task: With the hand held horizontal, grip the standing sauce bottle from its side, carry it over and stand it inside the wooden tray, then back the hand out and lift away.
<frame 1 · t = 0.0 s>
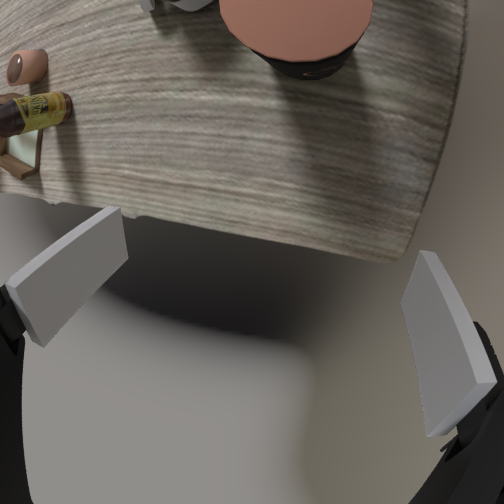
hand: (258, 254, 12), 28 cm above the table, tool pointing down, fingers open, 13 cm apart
sauce bottle: (62, 106, 39), on the table
coffee jar: (306, 42, 29), on the table
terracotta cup: (37, 65, 35), on the table
wooden tray: (23, 130, 43), on the table
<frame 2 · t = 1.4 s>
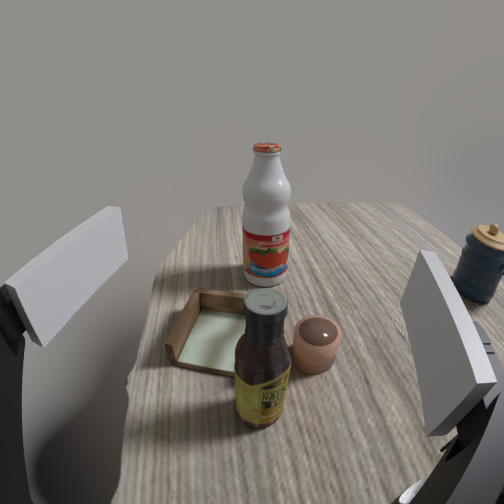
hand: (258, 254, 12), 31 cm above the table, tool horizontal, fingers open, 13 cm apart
sauce bottle: (260, 410, 36), on the table
canister: (472, 288, 57), on the table
fruit juice: (265, 275, 64), on the table
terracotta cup: (312, 357, 44), on the table
wooden tray: (227, 341, 48), on the table
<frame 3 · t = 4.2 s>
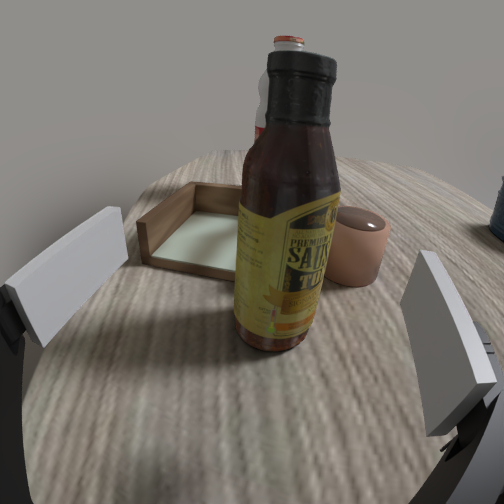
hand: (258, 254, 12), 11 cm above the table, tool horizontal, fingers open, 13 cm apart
sauce bottle: (272, 328, 24), on the table
fruit juice: (278, 195, 52), on the table
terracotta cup: (347, 268, 32), on the table
wooden tray: (226, 243, 35), on the table
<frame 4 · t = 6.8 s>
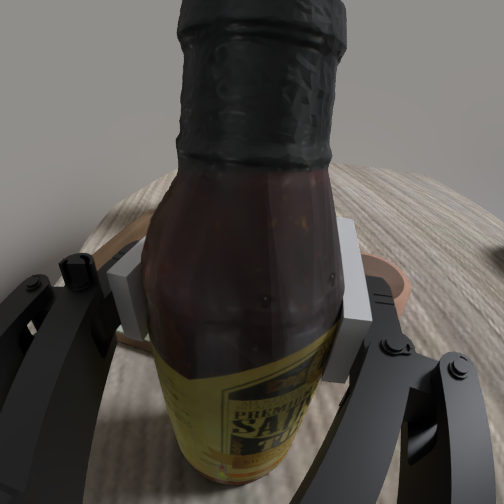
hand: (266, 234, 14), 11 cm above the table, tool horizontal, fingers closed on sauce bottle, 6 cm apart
sauce bottle: (235, 442, 15), on the table, touching gripper
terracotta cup: (347, 335, 23), on the table
wooden tray: (188, 298, 26), on the table
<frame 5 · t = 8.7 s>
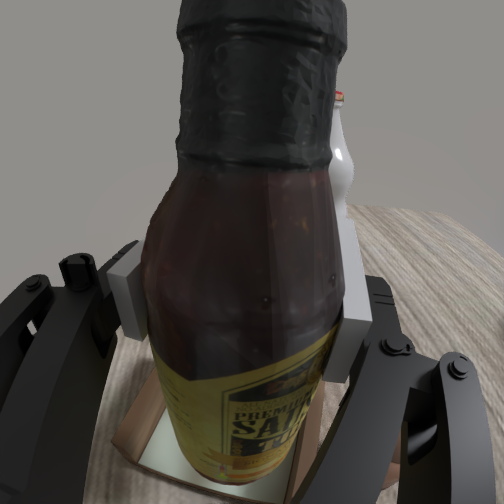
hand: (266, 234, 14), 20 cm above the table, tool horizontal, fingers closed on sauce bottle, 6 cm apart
sauce bottle: (235, 443, 15), point 9 cm above the table, touching gripper
fruit juice: (293, 305, 41), on the table
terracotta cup: (375, 459, 20), on the table
wooden tray: (230, 428, 24), on the table
when the fingers open (13 cm above the table, at t = 10.7 s): sauce bottle drops 1 cm, resting on wooden tray.
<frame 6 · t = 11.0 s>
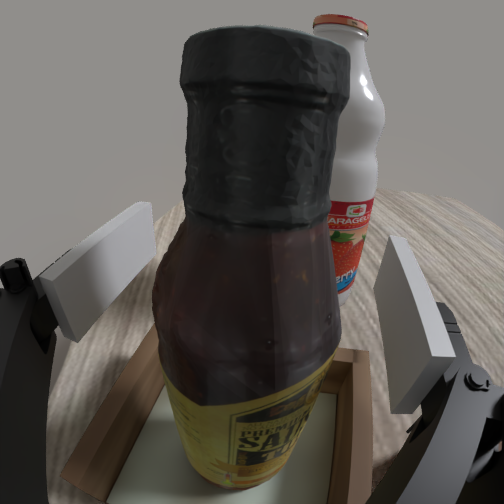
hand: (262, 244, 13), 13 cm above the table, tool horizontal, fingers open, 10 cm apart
sauce bottle: (238, 450, 15), point 1 cm above the table, touching wooden tray
fruit juice: (308, 289, 33), on the table
wooden tray: (235, 454, 16), on the table
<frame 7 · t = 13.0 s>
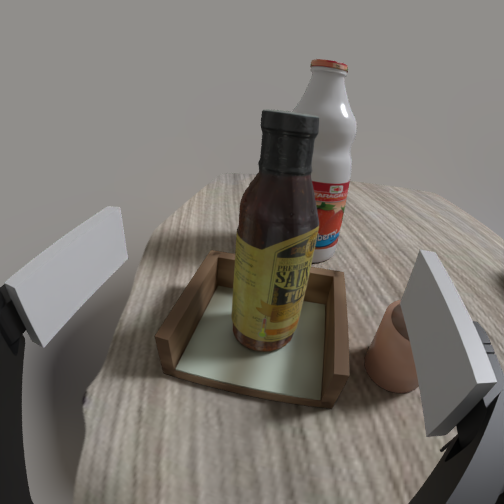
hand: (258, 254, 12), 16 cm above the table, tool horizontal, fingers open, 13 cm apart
sauce bottle: (263, 332, 28), point 1 cm above the table, touching wooden tray
fruit juice: (305, 249, 46), on the table
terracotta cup: (395, 365, 26), on the table
wooden tray: (260, 338, 29), on the table
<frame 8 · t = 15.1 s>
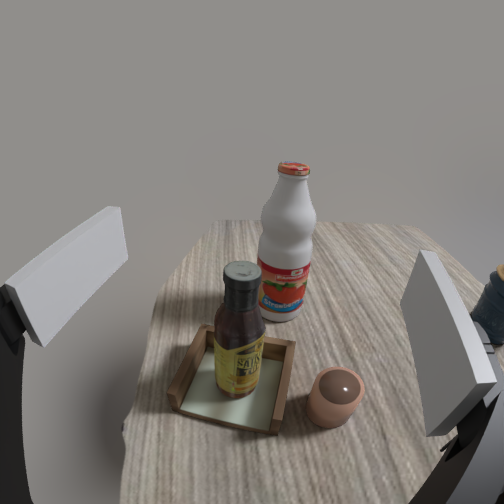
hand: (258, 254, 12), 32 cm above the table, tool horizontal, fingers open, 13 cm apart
sauce bottle: (237, 383, 40), point 1 cm above the table, touching wooden tray
canister: (489, 327, 51), on the table
fruit juice: (277, 307, 58), on the table
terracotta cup: (328, 408, 38), on the table
wooden tray: (235, 386, 41), on the table
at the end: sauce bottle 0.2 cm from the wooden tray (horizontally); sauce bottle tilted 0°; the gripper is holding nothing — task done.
